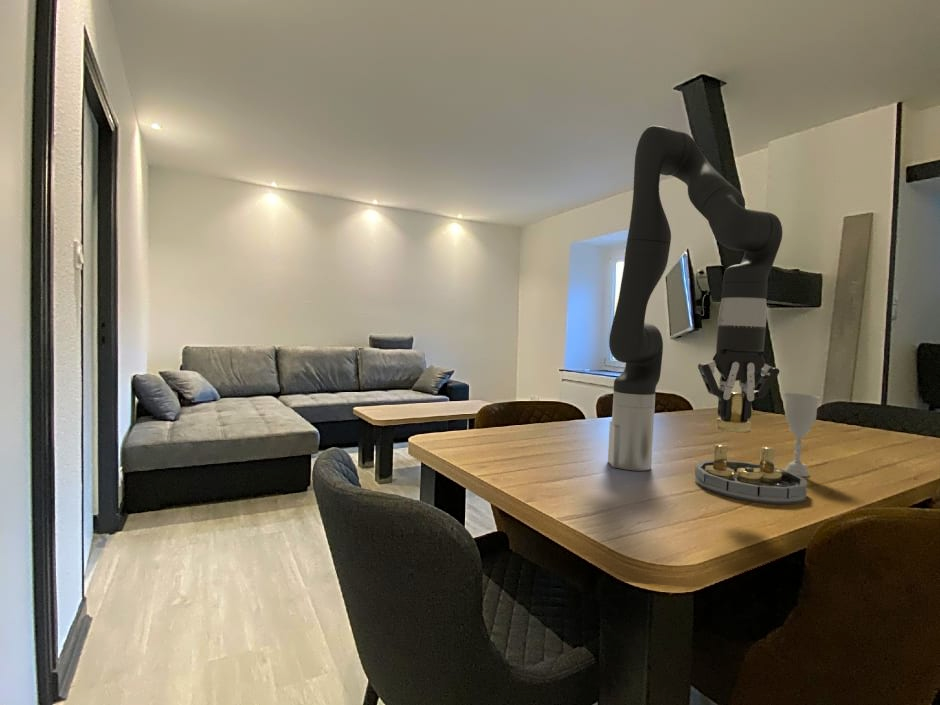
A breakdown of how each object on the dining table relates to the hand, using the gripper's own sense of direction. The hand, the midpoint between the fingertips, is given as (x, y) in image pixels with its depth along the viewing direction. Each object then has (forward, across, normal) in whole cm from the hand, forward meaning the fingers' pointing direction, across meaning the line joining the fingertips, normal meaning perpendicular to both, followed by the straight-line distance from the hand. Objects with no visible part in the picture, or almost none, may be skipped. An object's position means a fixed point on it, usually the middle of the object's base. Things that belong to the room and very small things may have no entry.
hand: (733, 420), depth 91 cm
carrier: (+16, +9, +13) cm, 22 cm away
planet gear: (+2, 0, 0) cm, 2 cm away
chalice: (+16, +26, +27) cm, 41 cm away
